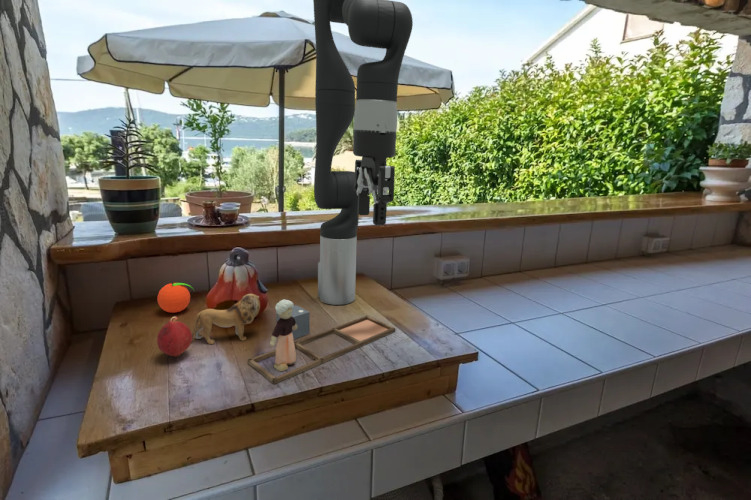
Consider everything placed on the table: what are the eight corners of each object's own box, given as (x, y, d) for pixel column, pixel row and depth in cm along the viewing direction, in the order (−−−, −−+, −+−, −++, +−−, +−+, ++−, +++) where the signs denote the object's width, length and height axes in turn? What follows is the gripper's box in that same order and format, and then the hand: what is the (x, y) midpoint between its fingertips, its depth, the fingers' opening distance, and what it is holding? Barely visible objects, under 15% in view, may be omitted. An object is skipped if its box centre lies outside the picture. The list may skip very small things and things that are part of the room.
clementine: (194, 303, 102) (192, 276, 100) (197, 314, 96) (195, 285, 94) (158, 308, 98) (155, 280, 96) (159, 319, 92) (156, 289, 90)
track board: (248, 363, 76) (247, 359, 75) (366, 318, 97) (367, 315, 97) (274, 384, 70) (274, 380, 69) (395, 331, 91) (395, 328, 91)
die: (276, 332, 88) (276, 310, 87) (296, 325, 92) (295, 304, 90) (289, 340, 85) (289, 317, 84) (309, 333, 88) (309, 311, 87)
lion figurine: (258, 327, 90) (257, 288, 88) (263, 337, 86) (262, 297, 83) (185, 339, 84) (181, 298, 82) (186, 351, 79) (183, 307, 77)
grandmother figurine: (287, 375, 72) (286, 309, 69) (267, 372, 73) (265, 306, 70) (303, 354, 80) (303, 293, 76) (285, 351, 80) (283, 291, 77)
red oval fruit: (170, 368, 73) (166, 327, 71) (152, 358, 76) (148, 318, 74) (199, 354, 78) (196, 315, 76) (181, 346, 81) (177, 308, 79)
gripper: (343, 127, 77) (340, 212, 81) (368, 128, 64) (364, 229, 68) (380, 129, 79) (376, 211, 84) (412, 130, 67) (405, 227, 71)
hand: (370, 219), depth 76 cm, fingers open, 8 cm apart
